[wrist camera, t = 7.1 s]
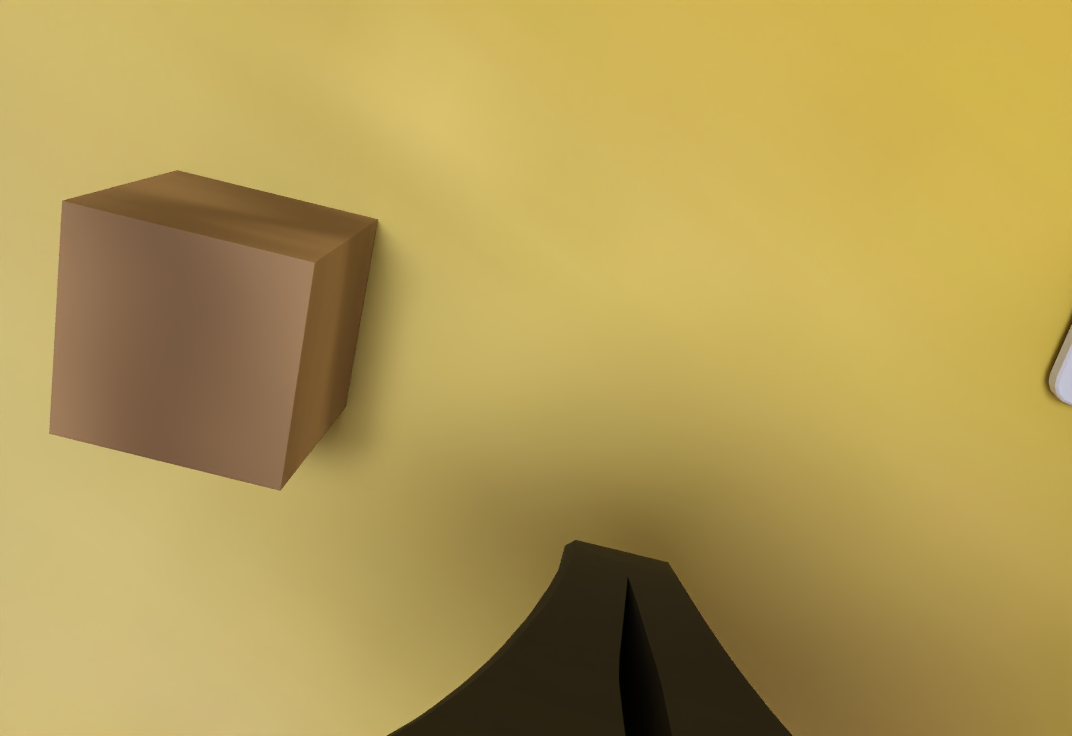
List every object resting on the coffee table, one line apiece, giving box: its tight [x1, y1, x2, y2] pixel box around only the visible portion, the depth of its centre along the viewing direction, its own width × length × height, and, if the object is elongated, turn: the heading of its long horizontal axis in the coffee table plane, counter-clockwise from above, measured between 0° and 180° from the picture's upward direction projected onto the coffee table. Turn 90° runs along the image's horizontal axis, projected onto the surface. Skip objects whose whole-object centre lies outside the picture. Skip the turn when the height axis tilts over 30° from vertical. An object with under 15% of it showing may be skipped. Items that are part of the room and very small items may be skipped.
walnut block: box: [49, 170, 378, 491], centre depth 19 cm, size 4×4×4 cm
